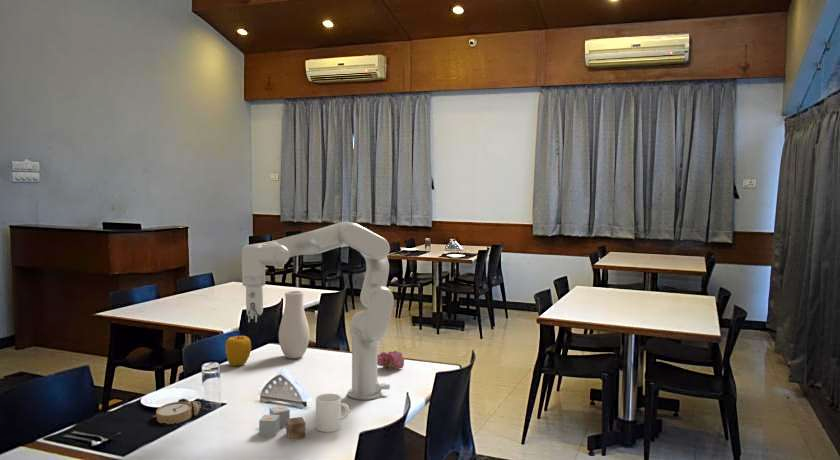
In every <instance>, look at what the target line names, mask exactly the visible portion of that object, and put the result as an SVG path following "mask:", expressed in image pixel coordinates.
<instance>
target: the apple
mask: <svg viewBox="0 0 840 460" xmlns="http://www.w3.org/2000/svg"><path fill="white" fill-rule="evenodd" d="M224 349H225V356H226V359H227V361H228V363H229V365H230V366H232V367H238V366H239V367H240V366H241V365H245V364H246V363H247V361H248V359H249V358H250V355H251V351H252V341H251V339H250V337H249V336H246V335H236V336H235V335H234V336H230V337H228V338H227V339H226V341H225V348H224Z"/></svg>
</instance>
